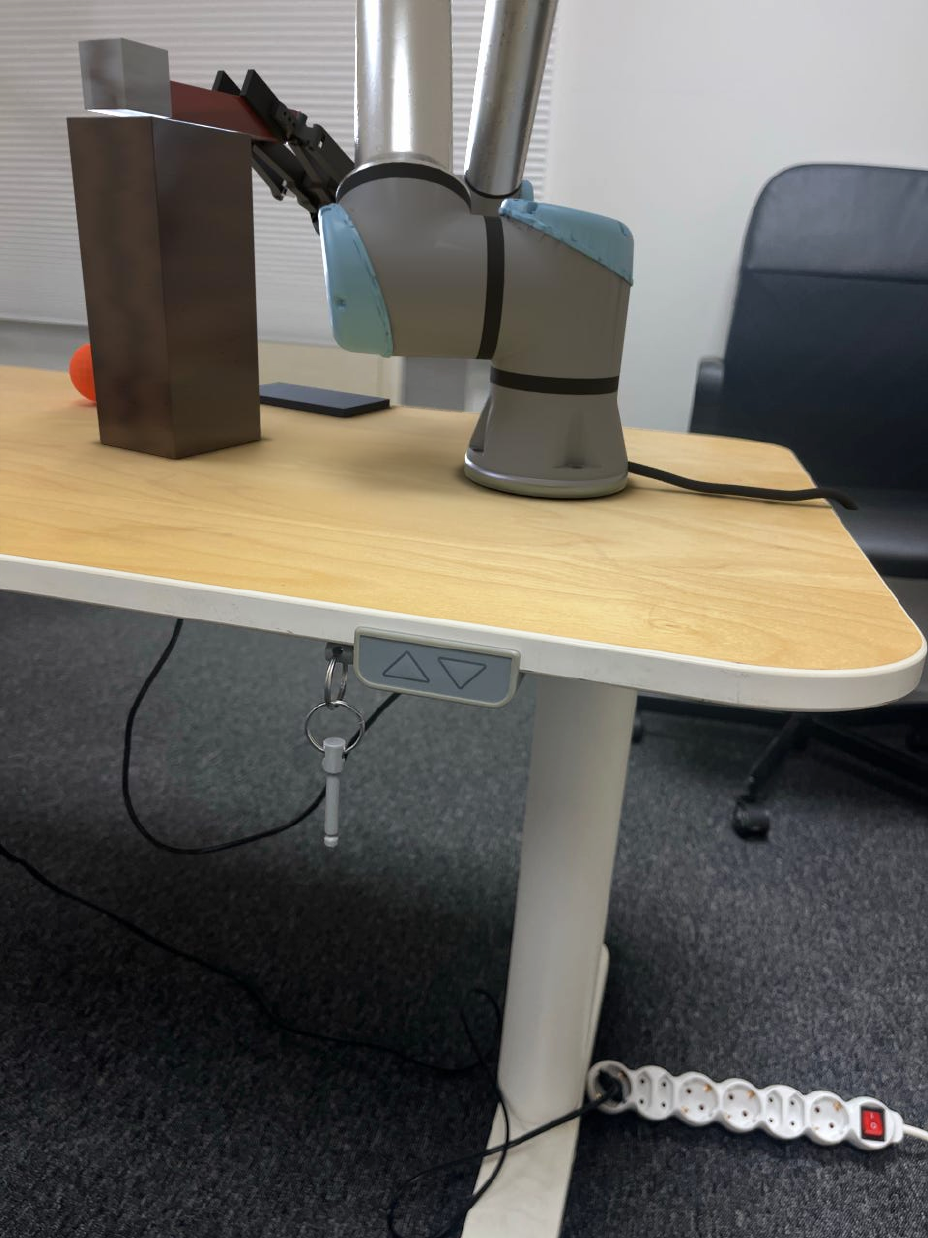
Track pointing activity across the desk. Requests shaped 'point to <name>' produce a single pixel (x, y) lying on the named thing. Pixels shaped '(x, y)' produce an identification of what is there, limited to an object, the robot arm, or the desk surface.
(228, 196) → the tall post
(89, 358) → the clementine
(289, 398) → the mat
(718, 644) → the desk surface
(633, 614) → the desk surface
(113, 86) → the hammer
